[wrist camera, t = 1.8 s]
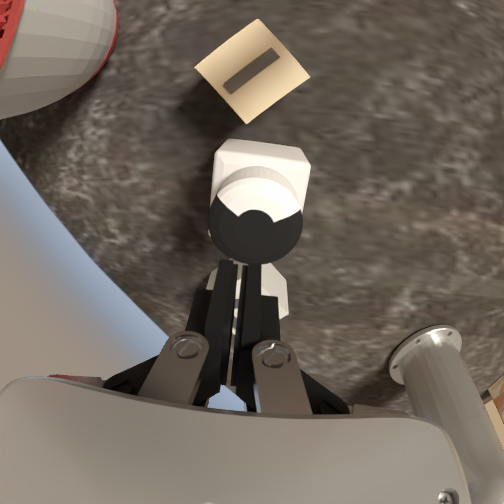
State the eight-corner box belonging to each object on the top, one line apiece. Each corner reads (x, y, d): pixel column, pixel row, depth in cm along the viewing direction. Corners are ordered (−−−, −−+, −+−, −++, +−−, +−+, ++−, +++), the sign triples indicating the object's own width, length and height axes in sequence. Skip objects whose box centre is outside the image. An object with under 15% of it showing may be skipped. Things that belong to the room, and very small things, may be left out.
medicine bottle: (289, 216, 31) (300, 284, 21) (219, 207, 31) (194, 270, 21) (301, 147, 28) (323, 181, 17) (226, 137, 28) (200, 165, 17)
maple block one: (301, 81, 25) (310, 76, 19) (250, 119, 27) (246, 124, 21) (259, 33, 23) (257, 17, 17) (209, 72, 25) (193, 66, 19)
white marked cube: (286, 280, 35) (288, 316, 30) (245, 305, 37) (241, 342, 32) (252, 242, 33) (248, 274, 28) (211, 271, 35) (201, 306, 30)
